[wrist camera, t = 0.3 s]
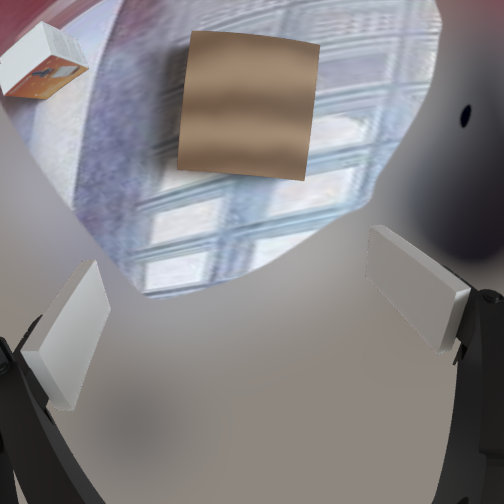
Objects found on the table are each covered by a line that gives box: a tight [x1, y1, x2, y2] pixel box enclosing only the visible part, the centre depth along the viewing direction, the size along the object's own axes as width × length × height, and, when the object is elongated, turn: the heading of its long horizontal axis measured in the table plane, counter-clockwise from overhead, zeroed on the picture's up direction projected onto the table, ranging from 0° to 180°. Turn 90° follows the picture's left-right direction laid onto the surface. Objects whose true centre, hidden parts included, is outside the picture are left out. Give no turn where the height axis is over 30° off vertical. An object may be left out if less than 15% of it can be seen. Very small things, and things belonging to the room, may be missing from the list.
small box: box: [0, 21, 89, 99], centre depth 26 cm, size 8×6×10 cm
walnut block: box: [177, 31, 320, 181], centre depth 33 cm, size 16×14×6 cm
